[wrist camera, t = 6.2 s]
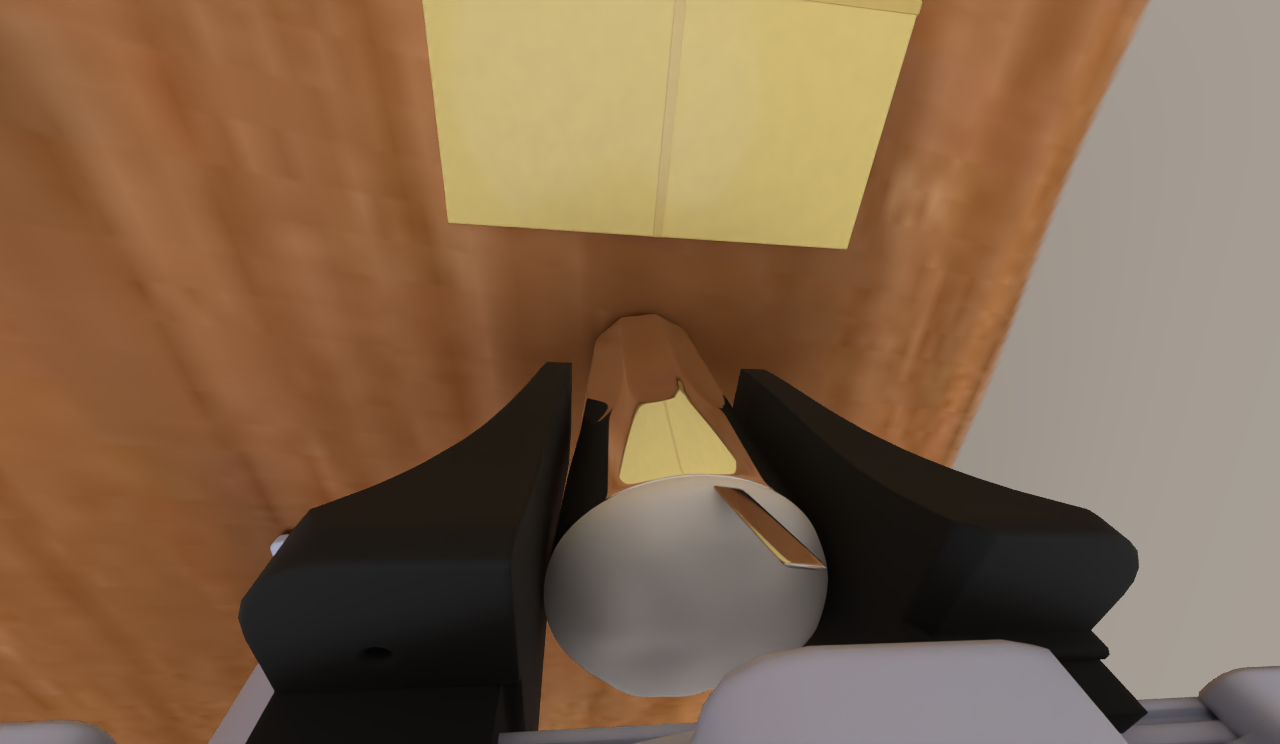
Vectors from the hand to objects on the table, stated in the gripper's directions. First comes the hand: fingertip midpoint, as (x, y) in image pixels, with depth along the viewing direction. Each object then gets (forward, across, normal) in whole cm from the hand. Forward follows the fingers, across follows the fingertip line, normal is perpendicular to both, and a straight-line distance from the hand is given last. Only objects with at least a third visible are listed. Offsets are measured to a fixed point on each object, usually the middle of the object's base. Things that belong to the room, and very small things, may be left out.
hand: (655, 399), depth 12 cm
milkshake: (+3, 0, 0) cm, 3 cm away
